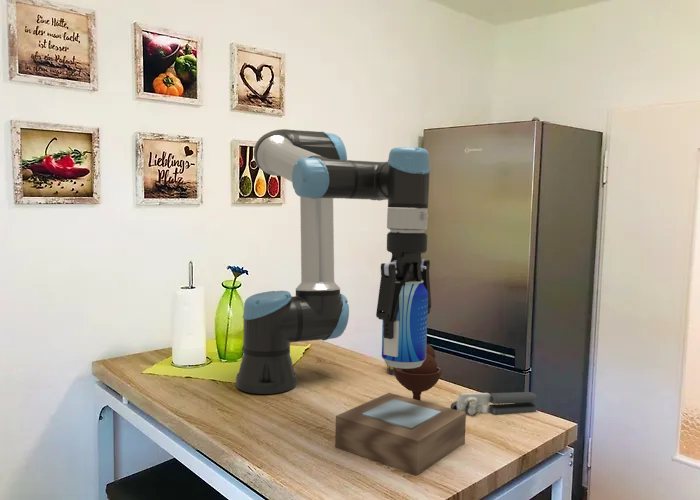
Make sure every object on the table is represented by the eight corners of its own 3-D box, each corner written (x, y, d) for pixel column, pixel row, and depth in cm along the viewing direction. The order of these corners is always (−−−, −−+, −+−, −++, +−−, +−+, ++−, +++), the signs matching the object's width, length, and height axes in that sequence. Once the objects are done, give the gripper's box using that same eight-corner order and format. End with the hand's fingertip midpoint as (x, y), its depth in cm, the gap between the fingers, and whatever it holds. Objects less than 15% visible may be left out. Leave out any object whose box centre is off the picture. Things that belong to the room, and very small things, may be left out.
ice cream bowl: (390, 400, 136) (392, 337, 135) (438, 401, 136) (440, 339, 135) (392, 416, 126) (394, 348, 125) (444, 418, 125) (446, 350, 124)
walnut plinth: (335, 446, 109) (335, 414, 109) (388, 420, 124) (388, 391, 123) (417, 475, 98) (418, 439, 98) (464, 442, 113) (466, 410, 112)
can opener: (457, 419, 126) (457, 396, 125) (448, 408, 132) (449, 387, 132) (540, 416, 128) (541, 394, 128) (527, 406, 135) (528, 385, 134)
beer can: (424, 371, 105) (426, 283, 104) (378, 367, 106) (380, 281, 105) (427, 359, 113) (429, 278, 112) (384, 356, 115) (386, 276, 113)
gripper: (392, 233, 97) (389, 365, 99) (451, 231, 114) (448, 344, 116) (357, 231, 102) (354, 358, 103) (418, 229, 119) (415, 338, 120)
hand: (403, 350), depth 110 cm, fingers closed on beer can, 8 cm apart
